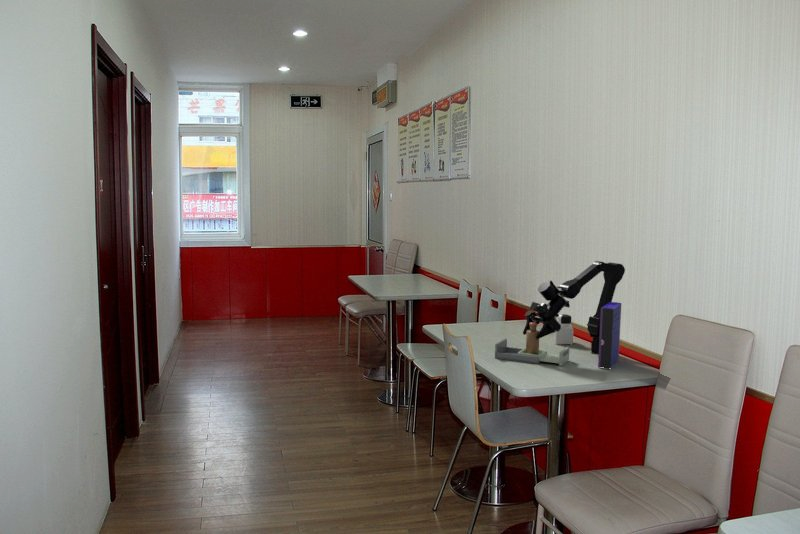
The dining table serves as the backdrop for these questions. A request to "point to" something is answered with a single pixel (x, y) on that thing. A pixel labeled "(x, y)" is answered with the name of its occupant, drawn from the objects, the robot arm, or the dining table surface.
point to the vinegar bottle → (532, 340)
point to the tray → (549, 356)
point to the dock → (512, 353)
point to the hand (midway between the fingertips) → (529, 336)
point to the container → (564, 330)
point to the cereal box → (609, 334)
